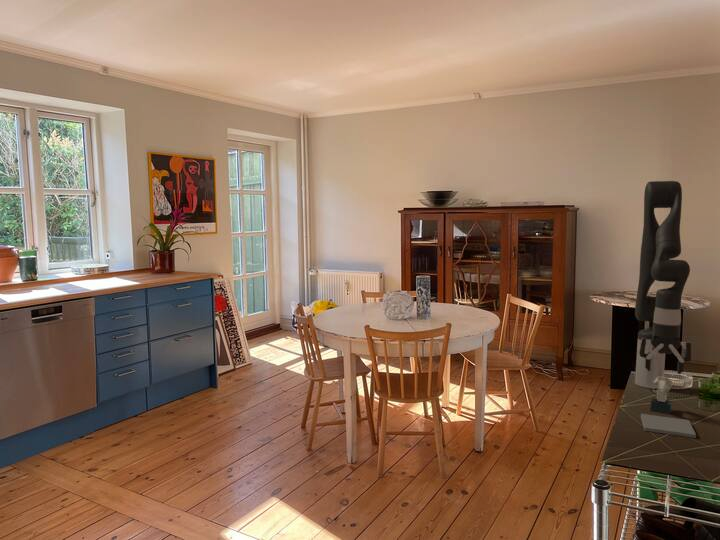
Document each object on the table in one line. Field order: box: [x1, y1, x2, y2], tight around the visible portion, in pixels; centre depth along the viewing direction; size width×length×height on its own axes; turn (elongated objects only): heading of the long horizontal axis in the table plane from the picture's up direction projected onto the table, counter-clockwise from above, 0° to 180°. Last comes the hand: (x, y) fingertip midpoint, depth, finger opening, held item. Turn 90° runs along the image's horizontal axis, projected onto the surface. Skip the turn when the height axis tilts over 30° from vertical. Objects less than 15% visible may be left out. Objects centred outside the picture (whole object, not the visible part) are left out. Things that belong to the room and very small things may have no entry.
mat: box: [640, 413, 697, 439], centre depth 162 cm, size 12×13×1 cm
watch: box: [650, 376, 673, 415], centre depth 175 cm, size 6×8×11 cm
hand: (663, 371), depth 174 cm, fingers open, 8 cm apart
